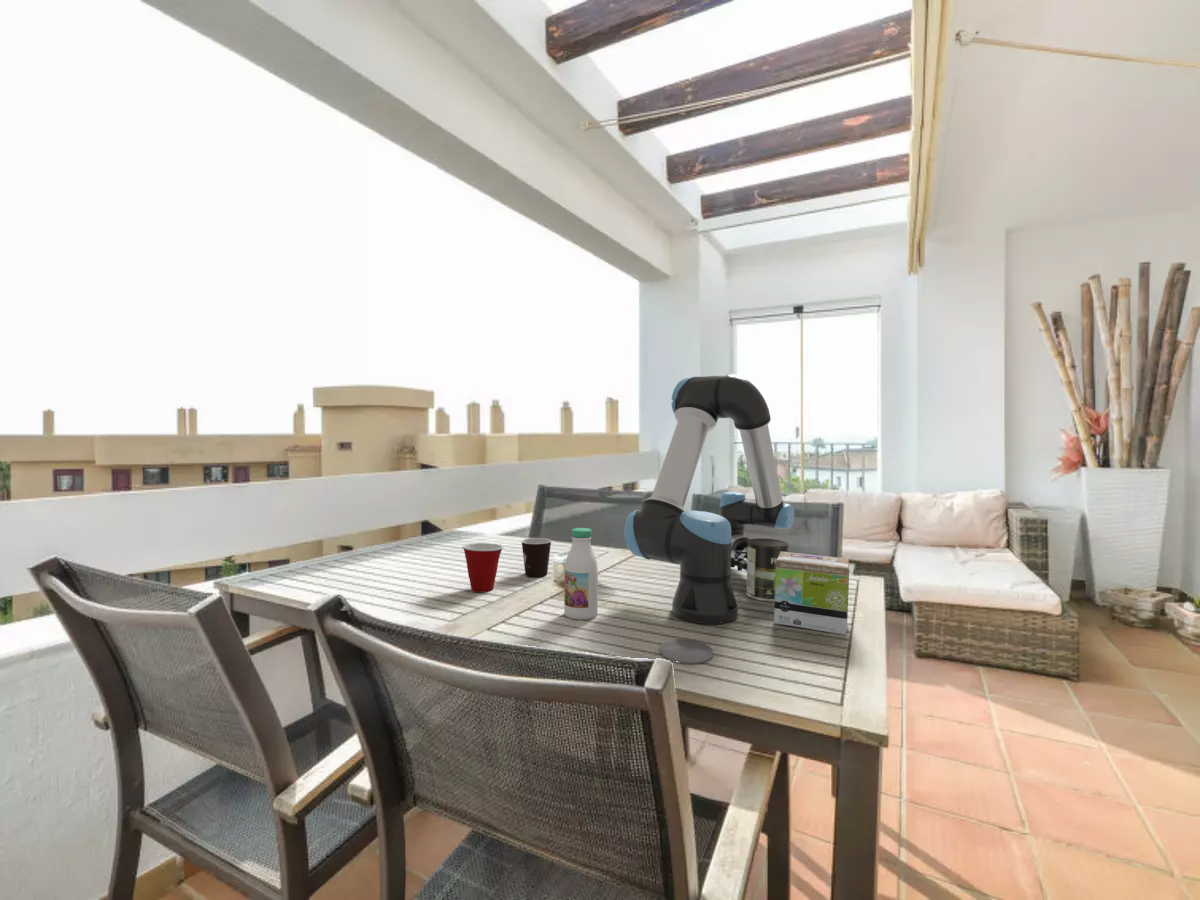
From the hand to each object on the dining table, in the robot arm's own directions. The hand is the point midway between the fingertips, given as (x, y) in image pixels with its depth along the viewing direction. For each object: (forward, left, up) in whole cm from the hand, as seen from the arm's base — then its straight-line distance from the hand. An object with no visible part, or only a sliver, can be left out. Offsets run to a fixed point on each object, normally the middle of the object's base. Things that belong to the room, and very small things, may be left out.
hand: (773, 569), depth 137 cm
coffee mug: (-60, +30, -8) cm, 68 cm away
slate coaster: (-30, -30, -8) cm, 43 cm away
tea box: (+2, -16, -8) cm, 18 cm away
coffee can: (0, +4, -8) cm, 9 cm away
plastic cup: (-74, +15, -8) cm, 76 cm away
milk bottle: (-49, -7, -8) cm, 50 cm away
